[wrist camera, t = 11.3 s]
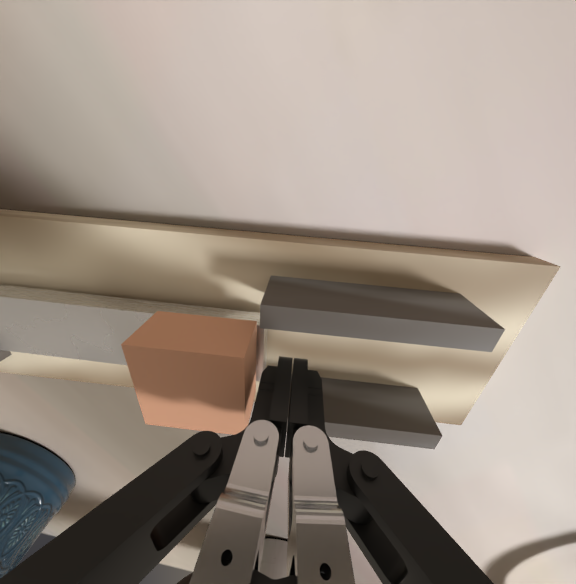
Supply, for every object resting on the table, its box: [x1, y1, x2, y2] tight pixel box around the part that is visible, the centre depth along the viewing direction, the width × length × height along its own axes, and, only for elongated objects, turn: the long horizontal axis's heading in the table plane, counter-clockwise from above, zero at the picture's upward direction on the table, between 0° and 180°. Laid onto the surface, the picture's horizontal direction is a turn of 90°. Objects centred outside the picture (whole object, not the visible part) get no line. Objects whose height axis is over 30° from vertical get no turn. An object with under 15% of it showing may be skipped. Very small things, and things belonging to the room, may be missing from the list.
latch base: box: [0, 209, 560, 449], centre depth 14 cm, size 12×37×5 cm, turn 86°
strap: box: [0, 285, 268, 381], centre depth 14 cm, size 4×21×1 cm, turn 86°
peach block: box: [121, 311, 257, 435], centre depth 12 cm, size 5×5×3 cm
